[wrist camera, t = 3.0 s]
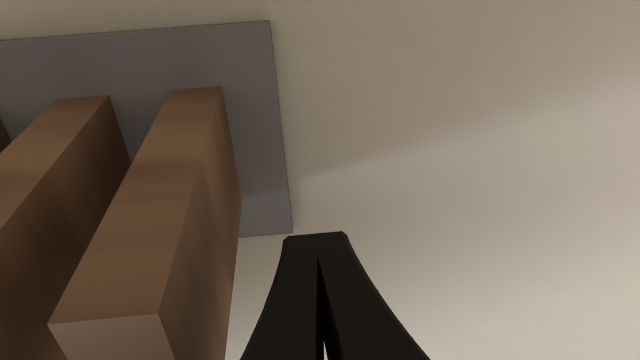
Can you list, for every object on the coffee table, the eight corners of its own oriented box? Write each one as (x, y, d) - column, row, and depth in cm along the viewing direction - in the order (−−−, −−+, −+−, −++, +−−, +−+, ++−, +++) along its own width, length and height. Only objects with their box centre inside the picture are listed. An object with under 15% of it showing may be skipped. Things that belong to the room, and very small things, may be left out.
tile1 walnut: (242, 199, 17) (213, 460, 9) (198, 203, 16) (132, 469, 9) (221, 86, 14) (157, 313, 7) (170, 90, 14) (46, 324, 7)
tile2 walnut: (146, 207, 16) (35, 480, 9) (101, 211, 16) (-48, 489, 9) (109, 95, 14) (-87, 337, 6) (56, 99, 14) (-204, 349, 6)
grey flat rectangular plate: (292, 227, 18) (292, 232, 18) (-205, 273, 17) (-212, 279, 17) (269, 20, 13) (269, 23, 13) (-402, 70, 13) (-415, 74, 12)
